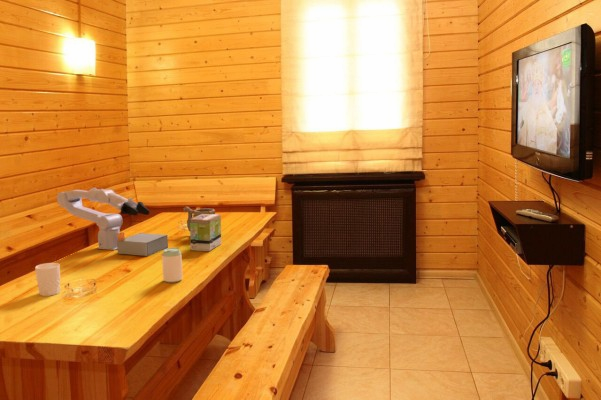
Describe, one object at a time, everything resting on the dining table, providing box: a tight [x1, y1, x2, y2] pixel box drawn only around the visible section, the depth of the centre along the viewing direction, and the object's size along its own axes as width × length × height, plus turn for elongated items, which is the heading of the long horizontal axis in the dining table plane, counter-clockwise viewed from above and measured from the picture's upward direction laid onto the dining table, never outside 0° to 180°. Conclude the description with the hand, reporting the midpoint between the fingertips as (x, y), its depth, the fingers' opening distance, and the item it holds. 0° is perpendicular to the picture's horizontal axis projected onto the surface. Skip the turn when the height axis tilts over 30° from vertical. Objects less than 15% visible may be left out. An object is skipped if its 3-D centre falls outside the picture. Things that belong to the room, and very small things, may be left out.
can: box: [161, 247, 183, 284], centre depth 210 cm, size 7×7×12 cm
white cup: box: [34, 262, 61, 297], centre depth 197 cm, size 8×8×10 cm
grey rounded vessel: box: [182, 206, 216, 232], centre depth 283 cm, size 20×13×15 cm, turn 58°
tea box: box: [189, 213, 222, 252], centre depth 261 cm, size 15×10×15 cm
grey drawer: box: [116, 232, 148, 257], centre depth 248 cm, size 15×3×9 cm, turn 71°
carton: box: [125, 232, 169, 257], centre depth 257 cm, size 15×16×6 cm
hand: (142, 213), depth 251 cm, fingers open, 7 cm apart
